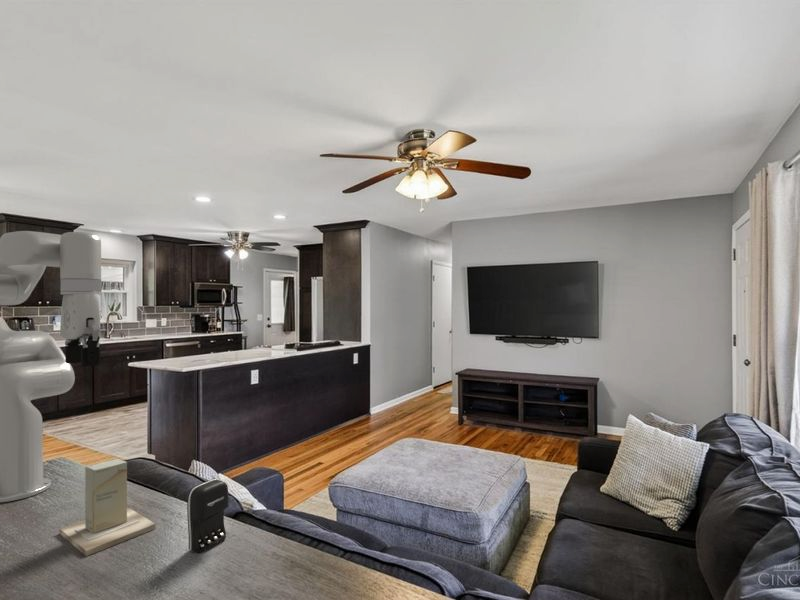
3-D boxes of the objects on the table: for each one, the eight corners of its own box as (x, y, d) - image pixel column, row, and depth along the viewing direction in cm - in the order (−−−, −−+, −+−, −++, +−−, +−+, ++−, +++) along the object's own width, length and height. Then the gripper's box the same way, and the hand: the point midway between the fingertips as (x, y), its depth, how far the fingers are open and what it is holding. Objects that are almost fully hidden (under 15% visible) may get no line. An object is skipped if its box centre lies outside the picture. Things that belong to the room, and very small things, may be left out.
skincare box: (92, 534, 85) (92, 471, 85) (84, 527, 88) (83, 466, 88) (128, 521, 90) (127, 461, 90) (119, 515, 93) (118, 457, 93)
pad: (59, 533, 88) (59, 527, 88) (125, 510, 98) (125, 504, 98) (86, 556, 80) (86, 549, 80) (155, 528, 90) (155, 522, 90)
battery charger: (200, 557, 79) (199, 492, 79) (186, 551, 81) (185, 488, 81) (232, 538, 85) (231, 479, 85) (219, 534, 87) (218, 475, 87)
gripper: (48, 289, 102) (48, 363, 102) (75, 286, 92) (76, 369, 91) (86, 289, 108) (86, 360, 108) (116, 287, 98) (116, 365, 97)
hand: (82, 364), depth 100 cm, fingers open, 9 cm apart
